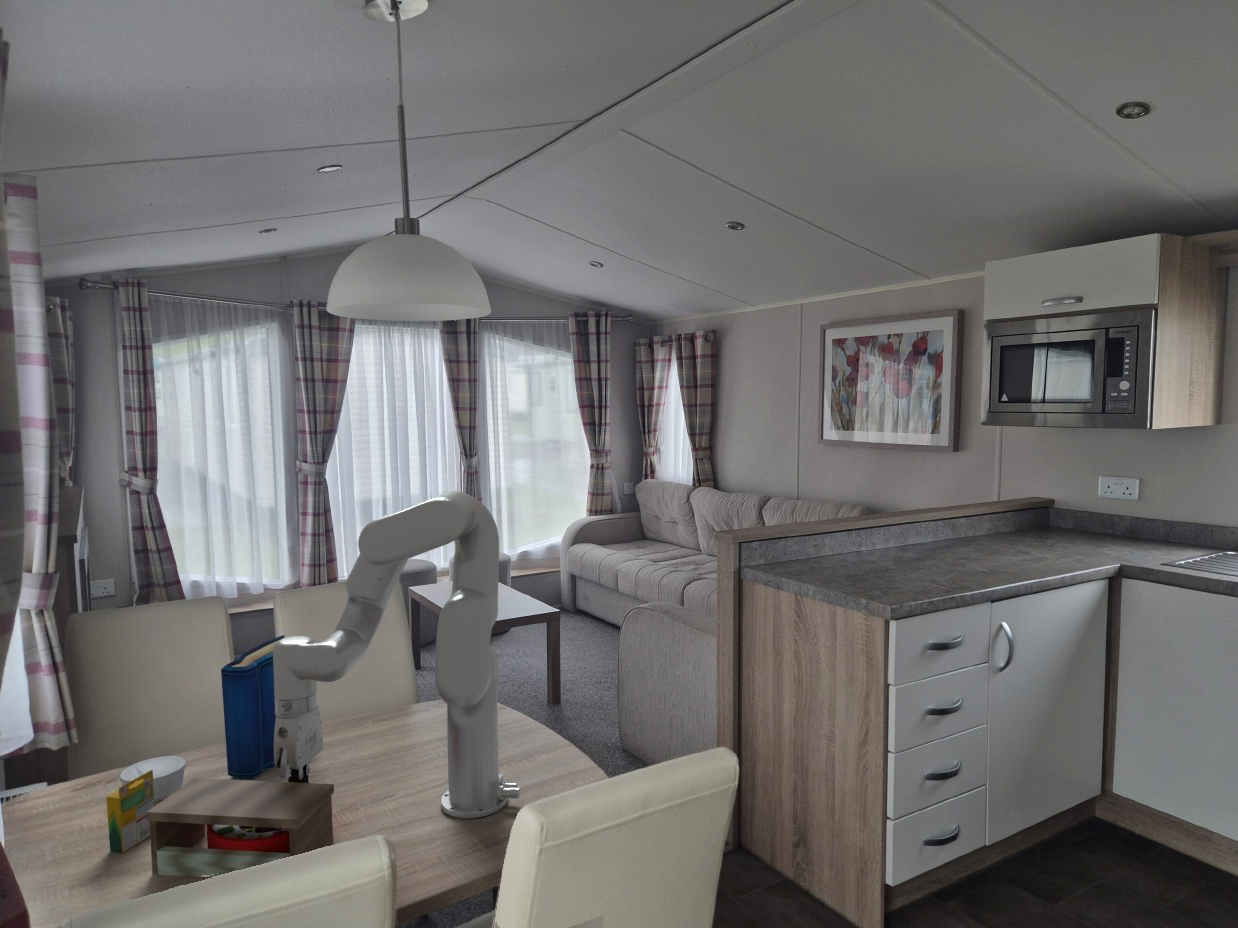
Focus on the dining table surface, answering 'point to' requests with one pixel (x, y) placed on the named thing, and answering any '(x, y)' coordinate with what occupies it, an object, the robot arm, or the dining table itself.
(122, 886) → the dining table surface
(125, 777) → the ramekin
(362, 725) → the dining table surface
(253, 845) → the toy clock
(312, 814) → the walnut overhang
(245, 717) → the book
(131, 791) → the crayon box
